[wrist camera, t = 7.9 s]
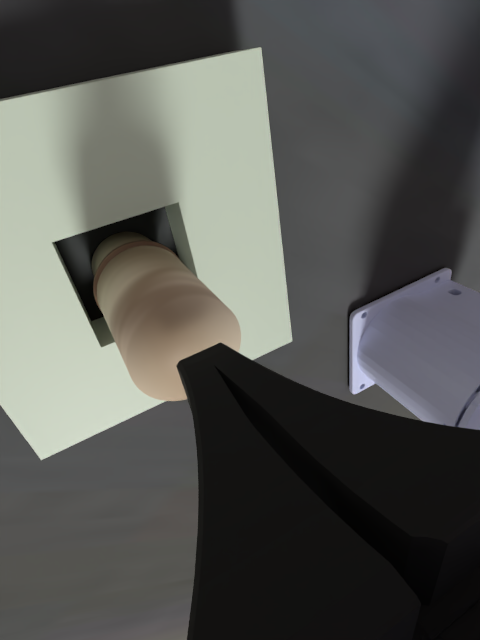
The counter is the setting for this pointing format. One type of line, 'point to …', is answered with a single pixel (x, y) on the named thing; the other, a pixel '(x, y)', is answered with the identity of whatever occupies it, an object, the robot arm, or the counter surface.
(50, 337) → the sage board
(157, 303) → the beech peg
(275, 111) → the counter surface
